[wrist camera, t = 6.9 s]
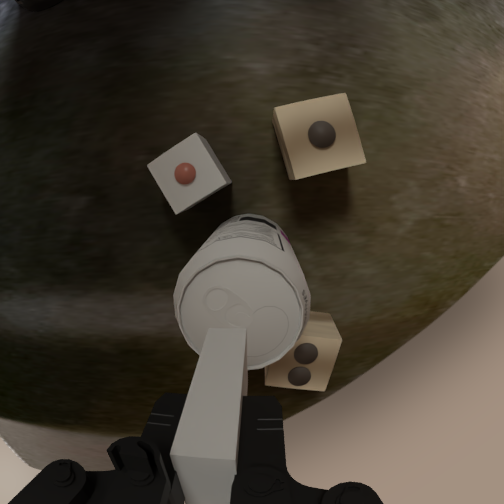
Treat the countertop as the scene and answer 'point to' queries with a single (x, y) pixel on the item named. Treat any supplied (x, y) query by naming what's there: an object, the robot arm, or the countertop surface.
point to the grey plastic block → (188, 173)
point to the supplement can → (245, 289)
